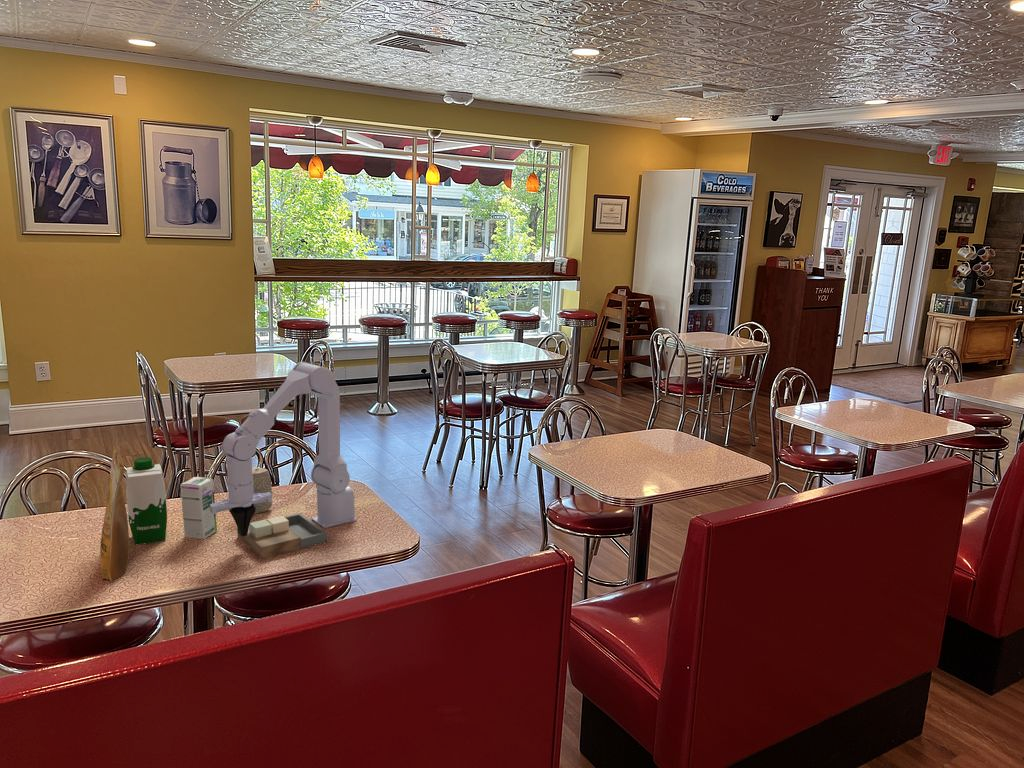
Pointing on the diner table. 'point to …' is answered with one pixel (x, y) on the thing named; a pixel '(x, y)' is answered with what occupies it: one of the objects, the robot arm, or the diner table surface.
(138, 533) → the milk carton
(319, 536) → the box
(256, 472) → the carving
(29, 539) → the diner table surface
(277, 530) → the tile
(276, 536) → the board
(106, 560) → the pancake mix bag
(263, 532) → the tile
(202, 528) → the syrup box
